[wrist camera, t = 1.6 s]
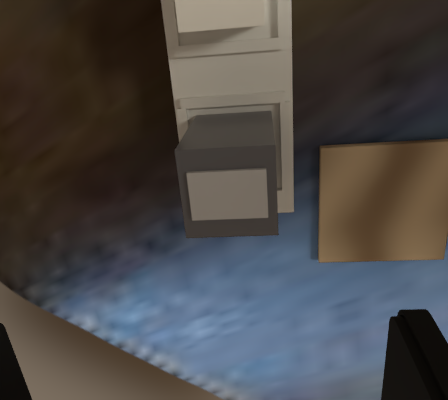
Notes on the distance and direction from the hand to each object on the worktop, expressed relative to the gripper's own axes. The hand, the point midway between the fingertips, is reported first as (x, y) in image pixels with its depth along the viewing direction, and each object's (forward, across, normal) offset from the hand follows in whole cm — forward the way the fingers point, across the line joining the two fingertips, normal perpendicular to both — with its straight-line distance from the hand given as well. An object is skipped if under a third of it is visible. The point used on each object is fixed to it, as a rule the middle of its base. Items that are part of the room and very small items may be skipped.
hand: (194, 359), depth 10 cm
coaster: (+20, -10, +5) cm, 23 cm away
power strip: (+20, 0, -5) cm, 21 cm away
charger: (+17, 0, 0) cm, 17 cm away
